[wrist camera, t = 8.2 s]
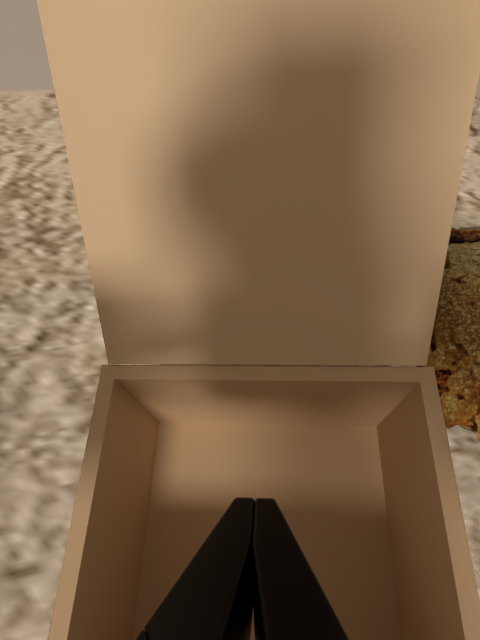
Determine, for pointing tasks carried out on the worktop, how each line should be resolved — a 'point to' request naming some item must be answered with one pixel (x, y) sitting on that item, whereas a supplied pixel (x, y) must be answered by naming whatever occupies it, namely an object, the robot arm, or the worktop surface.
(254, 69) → the lid flap
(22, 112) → the worktop surface
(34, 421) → the worktop surface
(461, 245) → the pastry
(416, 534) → the carton
